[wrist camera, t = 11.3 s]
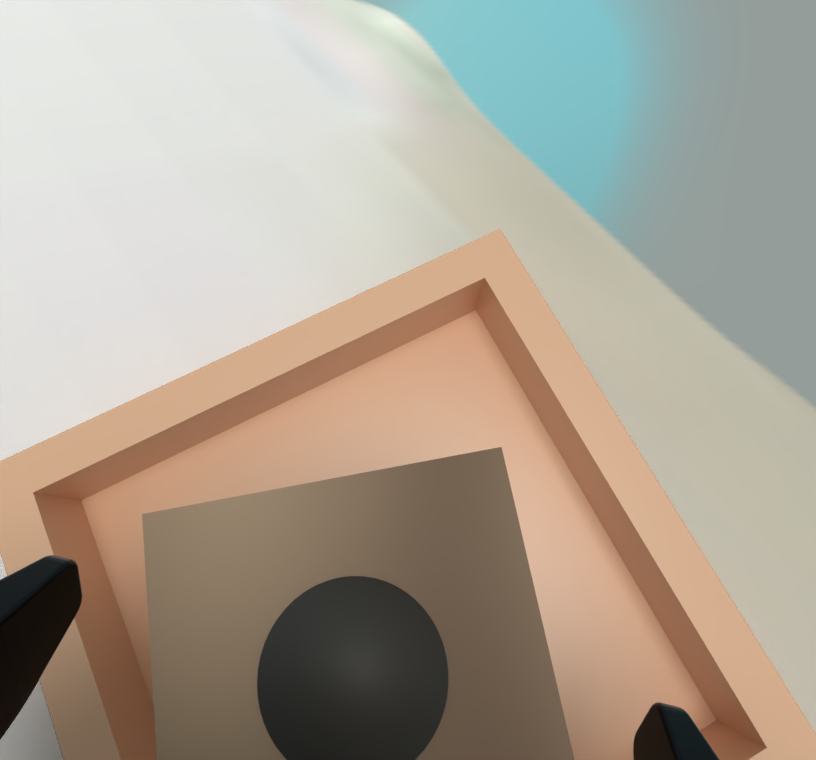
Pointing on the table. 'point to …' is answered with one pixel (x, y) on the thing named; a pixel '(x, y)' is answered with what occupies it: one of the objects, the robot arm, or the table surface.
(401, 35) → the table surface
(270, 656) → the walnut block
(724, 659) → the tray
